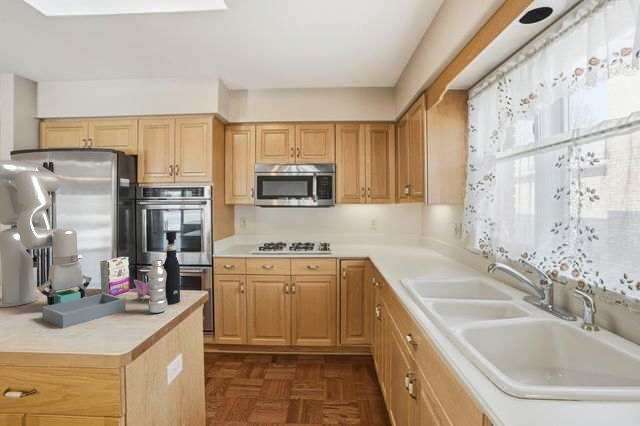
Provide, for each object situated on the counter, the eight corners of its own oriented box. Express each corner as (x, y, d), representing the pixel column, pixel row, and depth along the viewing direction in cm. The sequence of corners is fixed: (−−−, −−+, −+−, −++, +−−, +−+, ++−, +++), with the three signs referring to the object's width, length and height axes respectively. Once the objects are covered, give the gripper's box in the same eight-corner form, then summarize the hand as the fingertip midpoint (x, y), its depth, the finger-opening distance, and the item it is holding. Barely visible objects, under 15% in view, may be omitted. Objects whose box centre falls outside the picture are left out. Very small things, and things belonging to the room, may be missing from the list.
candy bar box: (121, 290, 146) (120, 256, 146) (130, 290, 145) (129, 256, 145) (100, 297, 135) (99, 260, 135) (109, 297, 134) (109, 261, 134)
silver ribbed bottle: (171, 310, 118) (171, 259, 118) (157, 316, 112) (156, 262, 112) (158, 308, 121) (158, 258, 120) (144, 314, 114) (143, 261, 114)
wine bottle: (168, 299, 131) (167, 231, 130) (183, 300, 131) (182, 231, 130) (160, 304, 125) (159, 232, 124) (175, 304, 125) (174, 232, 124)
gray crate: (42, 319, 108) (42, 307, 108) (104, 303, 126) (104, 293, 126) (63, 328, 101) (62, 315, 101) (125, 310, 118) (125, 298, 118)
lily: (166, 301, 132) (166, 280, 136) (146, 298, 122) (146, 275, 126) (142, 308, 134) (143, 287, 138) (120, 306, 123) (121, 283, 127)
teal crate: (51, 308, 120) (51, 293, 120) (70, 303, 126) (70, 289, 126) (61, 311, 116) (60, 296, 116) (80, 306, 122) (80, 292, 122)
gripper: (86, 256, 130) (87, 295, 130) (33, 263, 115) (34, 307, 115) (94, 257, 126) (96, 298, 127) (41, 264, 111) (43, 310, 112)
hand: (66, 302), depth 121 cm, fingers open, 9 cm apart
